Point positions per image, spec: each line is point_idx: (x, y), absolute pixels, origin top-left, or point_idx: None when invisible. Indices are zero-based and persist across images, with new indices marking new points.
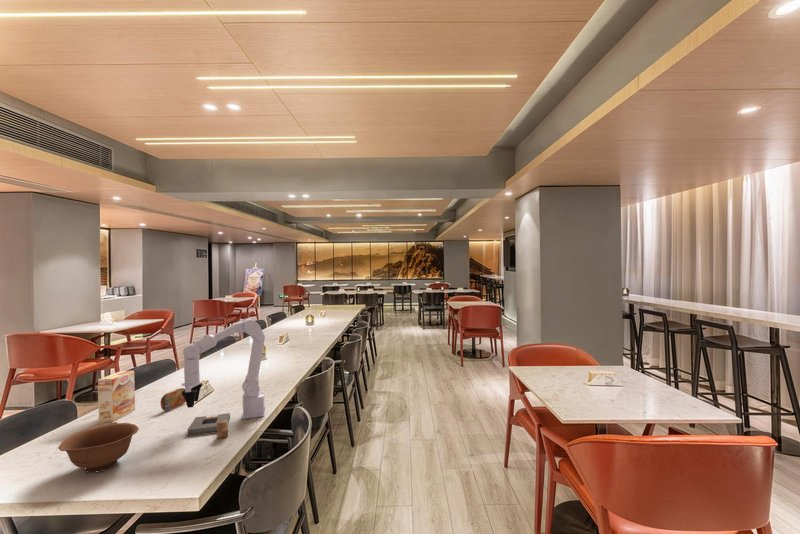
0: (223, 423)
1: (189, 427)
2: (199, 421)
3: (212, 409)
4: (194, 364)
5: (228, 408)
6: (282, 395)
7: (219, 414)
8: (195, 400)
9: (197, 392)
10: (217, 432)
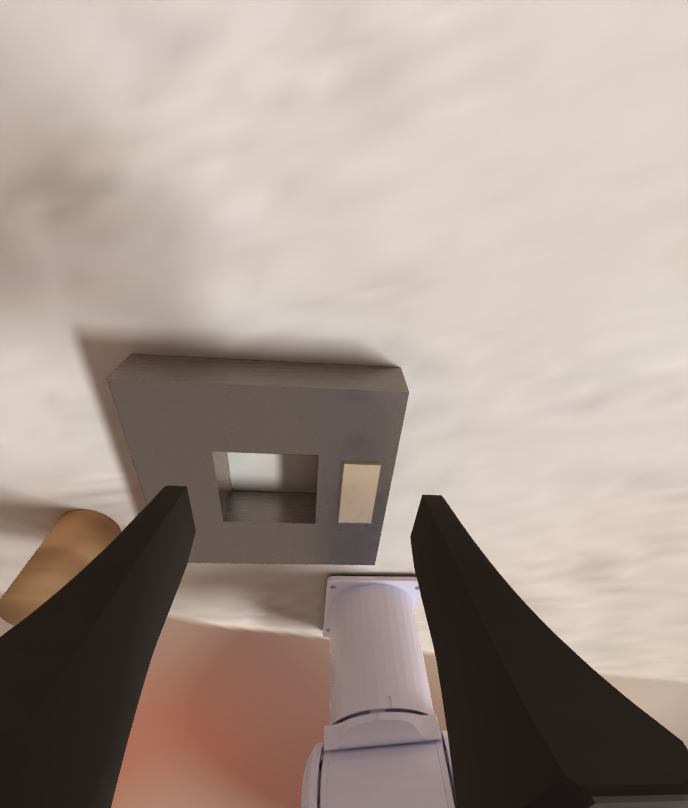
0: (9, 621)
1: (163, 384)
2: (286, 433)
3: (642, 435)
4: None
5: (573, 513)
6: None
7: (381, 523)
8: (416, 531)
9: (446, 662)
10: (42, 544)
